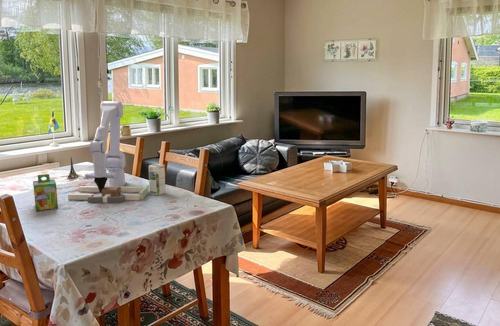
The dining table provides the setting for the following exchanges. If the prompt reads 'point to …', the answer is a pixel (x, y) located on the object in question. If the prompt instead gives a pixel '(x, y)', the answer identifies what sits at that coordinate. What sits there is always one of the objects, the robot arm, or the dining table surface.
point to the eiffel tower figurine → (73, 173)
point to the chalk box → (45, 193)
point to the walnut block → (111, 191)
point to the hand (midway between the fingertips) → (101, 192)
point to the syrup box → (157, 179)
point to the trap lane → (107, 197)
